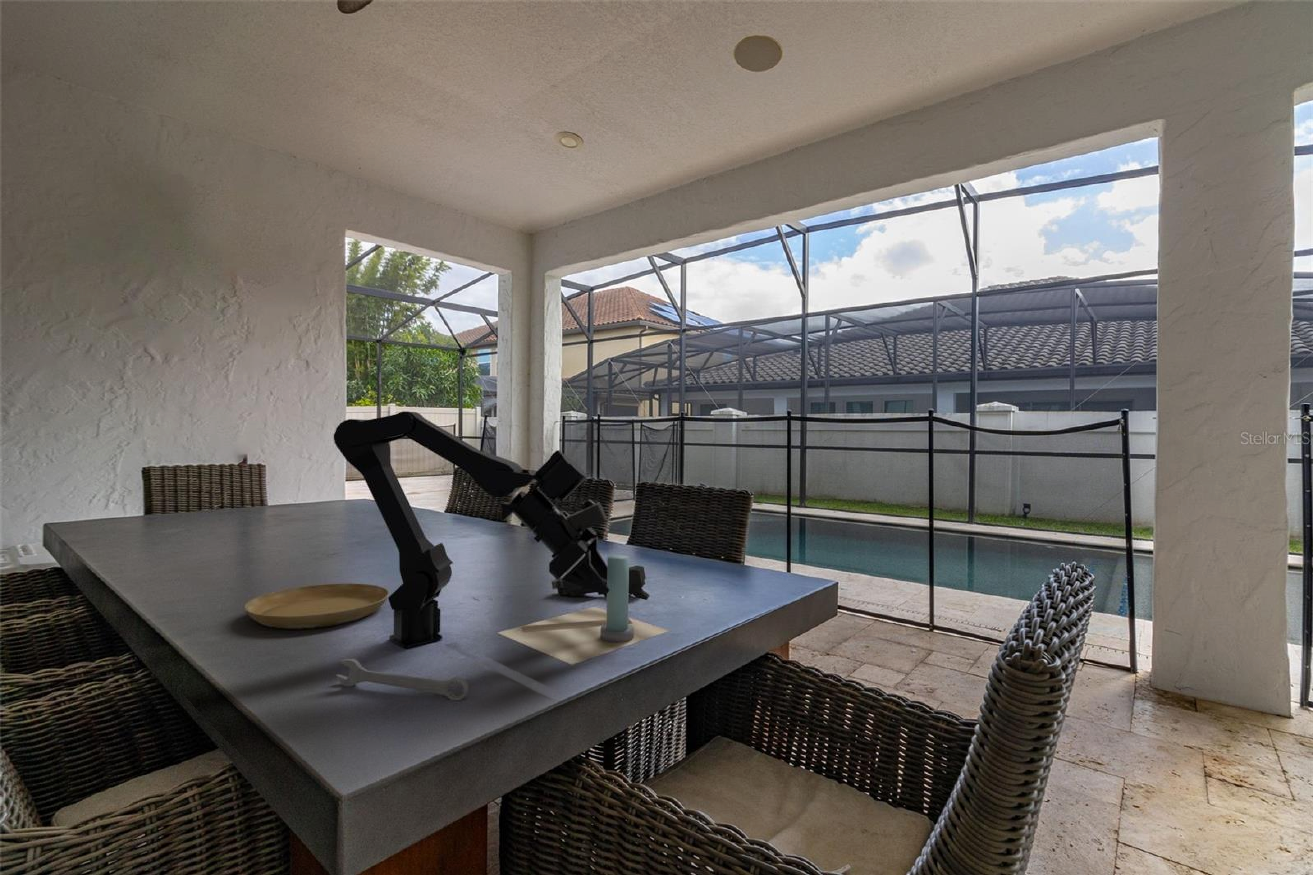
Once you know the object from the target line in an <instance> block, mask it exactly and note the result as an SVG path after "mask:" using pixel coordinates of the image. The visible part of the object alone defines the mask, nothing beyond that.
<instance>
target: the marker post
mask: <svg viewBox="0 0 1313 875" xmlns="http://www.w3.org/2000/svg"><path fill="white" fill-rule="evenodd" d="M606 560H607V562H606V563H607V564H606V565H607V587H608V589H609V592H608V593H607V597H606V611H607V624H606V625H604V626H602V627H601V628H600V638H601V640H603V641H605V642H609V643H624V642H628V641H631V640H632V639H633V638H634V628H633V626H631V625H628V618H629V594H628V587H629V567H630V557H629V556H628V555H624V554H623V555H621V554H615V555H614V554H613V555H608V556H607V559H606Z"/></svg>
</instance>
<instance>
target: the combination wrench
mask: <svg viewBox="0 0 1313 875" xmlns="http://www.w3.org/2000/svg"><path fill="white" fill-rule="evenodd" d="M339 663H340V664H343V665H344V666H346V667H348V668H349V675H348V676H346V675H342V674H340V673H339V674H336V675H335V677H336V679H337V680H338V681H339V683H340V684H341V685H342V686H346V687H354V686H356V685H357V684H361V683H364V682H366V683H373V684H379V685H386V686H391V687H398V688H403V689H407V690H415V691H416V690H417V691H420V692H421V691H423V692H426V693H427V692H428V693H433V694H439V695H442V696H446V697H448V699H450V700H451V701H461V700H463V699H464V698H465V697H466V695H467V694H468V692H469V686H468V682H466V680H465V679H464V678H461V677H454V678H452V679H448V680H439V679H438V680H437V679H431V678H425V677H417V676H416V677H415V676H409V675H403V674H395V673H388V672H382V671H375V670H374V671H373V670H370V669H369V670H368V669H366V668H364V667H363V666H362V664H361V663H360V662H359V661H358V660H357V659H355V658H345V659H341V660H339ZM454 683H457V684H459V685H461V686H462V689H463V690H462V692H463V693H462V694H460V695H456V696H455V694H454V693H452V691H451V685H452V684H454Z"/></svg>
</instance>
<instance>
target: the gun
mask: <svg viewBox="0 0 1313 875" xmlns="http://www.w3.org/2000/svg"><path fill="white" fill-rule="evenodd" d="M562 577H563V576H562ZM562 577H560V578H559V579H558V580H557V579H556V578H554V579H553V580H552V581H551V587H552V590H556V589H557V594H556V595H557V596H559V597H561V596H563V595H570V596H572V597H576V596H577V597H579V596H584V595H585V596H586V595H587V594H594V593H597V592H595V591H592V590H590V589H587V588H584V587H581V586H579V585H576V584H573V583H570V582H567V581H562V580H561V579H562ZM646 578H647V577H646V573H645V567H644V566H641V565H634V566H629V587H628V596H634V597H635V598H637V599H641V600H645V601H647V600H648V599H649V598H650V597H651V595H650V594H649V593H647V592H646V591H645V590H644V589H643V588H642V587H644V586H645V585H646V581H645V580H646ZM601 579H602V580H603V581H604V583H605V584H606V586H607V580H605V579H603V578H601ZM597 595H598V596H601V595H602V596H603V597H604V598H607V594H606V595H603V594H600V593H597Z"/></svg>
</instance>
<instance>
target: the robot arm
mask: <svg viewBox="0 0 1313 875" xmlns="http://www.w3.org/2000/svg"><path fill="white" fill-rule="evenodd" d="M404 438H409V439H410V440H411V441H413V442H415V443H417V444H418V445H421V446H422V447H424V448H426V449H427V450H429V451H430V452H432V453H434V454H436V455H438V456H439V457H440V458H443V459H444V460H446V461H448V462H449V463H452V465H454V466H456V467H458V468H460V469H462V470H463V471H464V472H465V473H466V474H467V475H468V476H469V477H470V478H471V479H472V481H473V482H474V483H475V484H476V485H477V486H478V487H480V488H481V489H483V491H485V492H486V493H487V494H488V495H490V496H491V497H494V498H505V497H508V496H511V495H513V494H515V493H517V492H518V491H519V490H520V489H521V488H524V487H527V486H529V485H533V484H535V483H536V482H537V483H536V484H535V485H534V486H533V487H532V488H531V489H530V490H529V491H528V492H525V491H519V493H518V494H516V495H515V496H514V497H513V498H512V499H511V500H510V501H509V502H507V501H505V502H502V503H501V504H500V508H501V511H500V513H501V514H500V520H501V521H505V520H506V519H508V518H510V517H511V516H512V515H513V514H514V516H515V517H517V518H518V520H519V521H520V522H521V523H522V524H523V525H524V526H525V527H527V529H528V530H529V531H530V532H531V533H532V534H533V536H535V537H533V540H535V542H536V543H539V542H541V543H542V544H543V545H544V546H545V547H546V548H547V549H548V550H549V551H550V552H551V553H552V555H551V557H552V559H551V560H550V562H548V563H549V564H548V572H549V573H550V574H551V575H552V576H553V577H554V579H557V580H558V579H559V578H561V577H562V579H561V580H562V581H567V582H570V583H573V584H576V585H579V586H581V587H584V588H587V589H590V590H592V591H595V592H596V593H597V594H598V593H600V594H602V596H604V595H606V594H607V593H608V592H609V589H608V587H607V586H606V584H605V583H604V581H603V580H602V579H601V578H603V579H605V580H607V564H606V563H607V562H605V560H604V559H603V557H602V555H601V553H600V552H599V550H598V544H599V543H598V540H599V537H598V536H596V535H597V532H596V531H595V530H594V529H593V528H592V527H594V526H599V525H601V524H603V523H605V522H607V521H606V520H607V519H608V516H607V515H606V513H605V511H604V507H603V506H602V504H601V502H600V501H597V502H594V501H593V500H592V499H587V500H585V501H584V502H582V503H581V506H580V507H581V509H580V510H577V511H576V512H574V513H572V514H569V512H567V511H566V510H559V508H558V507H557V506H556V505H555V504H554V503H553V502H554V501H556V500H557V499H559V500H561V501H564V500H566V499H567V498H568V497H569V496H570V494H572V493H573V492H574V491H575V490H576V489H577V488H578V487H579V486H580V485H581V484H582V483H583V482H584V481H585V480H586V479H587V478H588V475H587V474H586V472H585V471H584V469H582V467H581V466H579V464H578V463H577V462H576V461H573V459H571V458H569V457H568V456H567V455H566V454H564V453H563V452H562V451H561V450H560V449H558V450H556V451H554V452H553V453H552V454H551V456H550V458H548V459H547V461H545V463H543V465H542V466H540V467H539V469H538V470H534V469H525V468H522V467H521V466H520V464H518V463H517V462H515V461H512V460H509V459H507V458H504V457H501V456H498V455H495V454H491V453H488V452H484V451H482V450H480V449H478V448H476V447H474V446H473V445H471V444H469V443H468V442H465V441H464V440H462V439H461V438H459V437H457V436H456V435H454V434H452V433H451V432H449V431H447V430H445V429H444V428H442V427H440V426H439V425H436V424H435V423H433V422H432V421H430V420H428V419H426V418H425V417H424V416H423V415H422V414H421V413H419V412H416V411H399V412H398V413H394V414H391V415H386V416H381V417H376V418H372V419H359V418H358V419H357V418H355V419H354V418H351V419H350V418H348V419H345V420H343V421H342V422H340V423H339V424H338V426H337V427H336V428H335V432H334V433H333V441H334V442H333V443H334V444H335V446H336V448H337V449H338V450H339V451H340V453H341V455H342V456H343V457H344V459H345V460H346V461H347V462H348V463H349V464H350V465H351V466H352V467H353V468H354V469H355V470H357V472H359V473H360V474H361V475H362V477H363V479H364V481H365V484H366V485H367V488H368V490H369V491H370V494H371V496H372V498H373V499H374V500H373V501H374V502H375V504H376V506H377V509H378V511H379V512H380V514H381V515H380V516H382V519H383V521H384V524H385V525H386V527H387V529H388V532H389V533H390V535H391V537H392V539H393V542H394V544H395V547H396V548H397V551H398V565H399V566H398V568H399V574H400V577H401V581H402V584H401V585H399V587H398V588H397V589H396V590H395V591H393V593H391V594H389V595H388V598H387V600H388V603H389V605H390V608H391V610H393V634H392V635H389V636H388V637H389V638H388V639H389V640H390V641H392V642H393V643H396V644H398V645H399V646H401V647H403V648H404V649H407V648H412V647H415V646H420V645H424V644H428V643H432V642H436V641H440V640H443V635H441V634H439V633H440V632H441V608H440V607H439V600H436V598H438V597H440V594H441V591H442V589H444V588H445V587H446V586H447V585H448V584H449V582H451V578H452V574H453V572H452V567H451V565H453V563H454V562H453V561H452V560H451V559H450V558H449V556H448V555H447V554H448V553H447V551H446V548H445V546H444V544H443V542H440V543H438V544H436V545H434V543H432V542H431V541H429V540H428V538H427V537H426V536H425V533H424V531H423V530H422V527H421V526H420V523H419V521H418V519H417V517H416V515H415V513H414V510H413V508H412V507H411V506H412V505H411V504H410V502H409V500H408V498H407V496H406V494H405V491H404V490H403V488H402V486H401V483H400V482H399V479H398V477H397V474H396V473H395V471H394V469H393V467H392V464H391V446H390V443H391V442H396V441H398V440H401V439H404ZM551 500H552V501H553V502H552V501H551ZM591 539H593V540H592V541H591Z"/></svg>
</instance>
